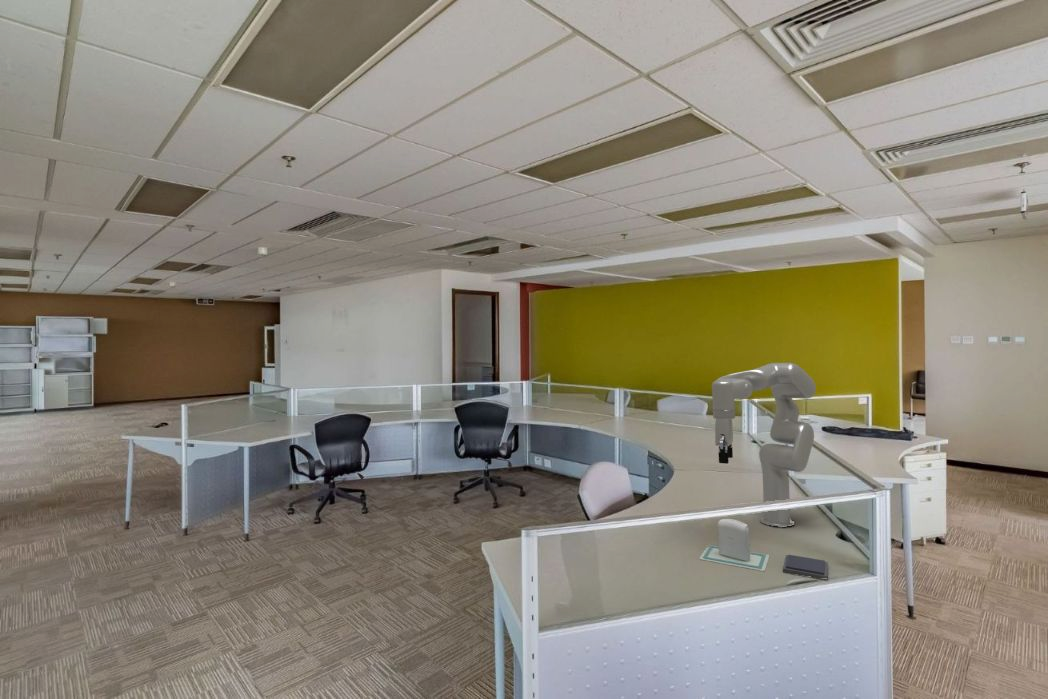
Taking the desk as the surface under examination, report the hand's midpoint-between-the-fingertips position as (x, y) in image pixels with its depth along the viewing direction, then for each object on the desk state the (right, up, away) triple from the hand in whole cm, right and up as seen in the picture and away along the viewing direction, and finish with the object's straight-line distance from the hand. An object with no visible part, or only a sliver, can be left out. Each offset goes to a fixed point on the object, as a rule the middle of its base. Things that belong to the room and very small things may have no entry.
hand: (726, 460), depth 186 cm
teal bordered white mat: (-3, -30, -16) cm, 33 cm away
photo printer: (-3, -30, -15) cm, 33 cm away
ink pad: (+15, -29, -26) cm, 42 cm away
